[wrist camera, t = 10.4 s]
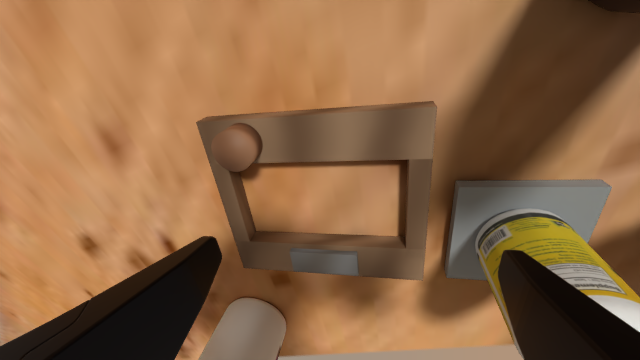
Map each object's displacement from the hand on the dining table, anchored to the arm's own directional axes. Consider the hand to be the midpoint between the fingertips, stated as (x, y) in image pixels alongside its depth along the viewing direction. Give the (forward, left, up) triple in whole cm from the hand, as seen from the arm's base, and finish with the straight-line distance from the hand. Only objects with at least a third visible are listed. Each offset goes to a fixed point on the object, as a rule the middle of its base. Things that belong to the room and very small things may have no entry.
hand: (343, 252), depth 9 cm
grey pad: (-11, +9, -13) cm, 19 cm away
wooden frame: (+4, +6, -13) cm, 15 cm away
